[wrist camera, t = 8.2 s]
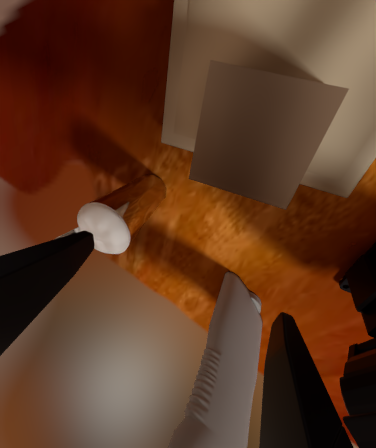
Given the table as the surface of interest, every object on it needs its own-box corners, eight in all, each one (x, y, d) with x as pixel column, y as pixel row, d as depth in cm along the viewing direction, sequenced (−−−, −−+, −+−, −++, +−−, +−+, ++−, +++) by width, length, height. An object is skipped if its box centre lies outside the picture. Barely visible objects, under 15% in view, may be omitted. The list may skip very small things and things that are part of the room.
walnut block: (325, 83, 12) (349, 88, 7) (286, 168, 15) (286, 209, 10) (237, 65, 13) (210, 59, 8) (217, 148, 16) (188, 178, 11)
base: (499, -61, 10) (557, -98, 8) (340, 183, 17) (347, 199, 15) (201, -85, 12) (183, -118, 10) (173, 135, 19) (160, 142, 17)
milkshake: (122, 168, 23) (40, 215, 16) (167, 166, 21) (98, 218, 14) (134, 206, 26) (68, 264, 18) (176, 208, 24) (121, 273, 16)
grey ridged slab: (211, 271, 27) (76, 618, 10) (243, 266, 25) (144, 705, 7) (244, 328, 30) (189, 655, 13) (274, 328, 28) (255, 720, 11)
